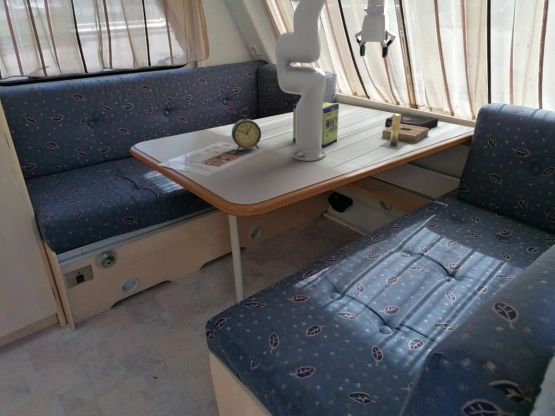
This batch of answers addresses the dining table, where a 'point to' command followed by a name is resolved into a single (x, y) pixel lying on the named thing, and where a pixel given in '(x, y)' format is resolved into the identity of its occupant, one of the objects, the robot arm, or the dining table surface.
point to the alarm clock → (246, 133)
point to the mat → (387, 145)
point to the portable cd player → (415, 121)
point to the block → (408, 133)
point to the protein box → (324, 123)
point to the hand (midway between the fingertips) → (373, 56)
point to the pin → (395, 129)
